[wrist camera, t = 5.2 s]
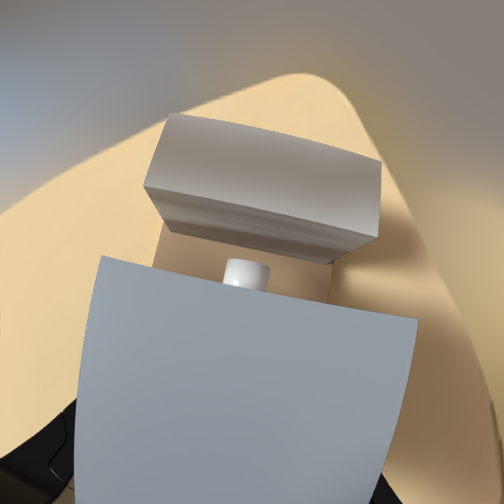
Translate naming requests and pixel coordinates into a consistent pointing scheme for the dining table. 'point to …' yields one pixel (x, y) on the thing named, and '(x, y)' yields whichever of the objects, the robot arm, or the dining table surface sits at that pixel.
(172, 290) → the blue-gray square block
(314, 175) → the block on stand
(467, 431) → the dining table surface
